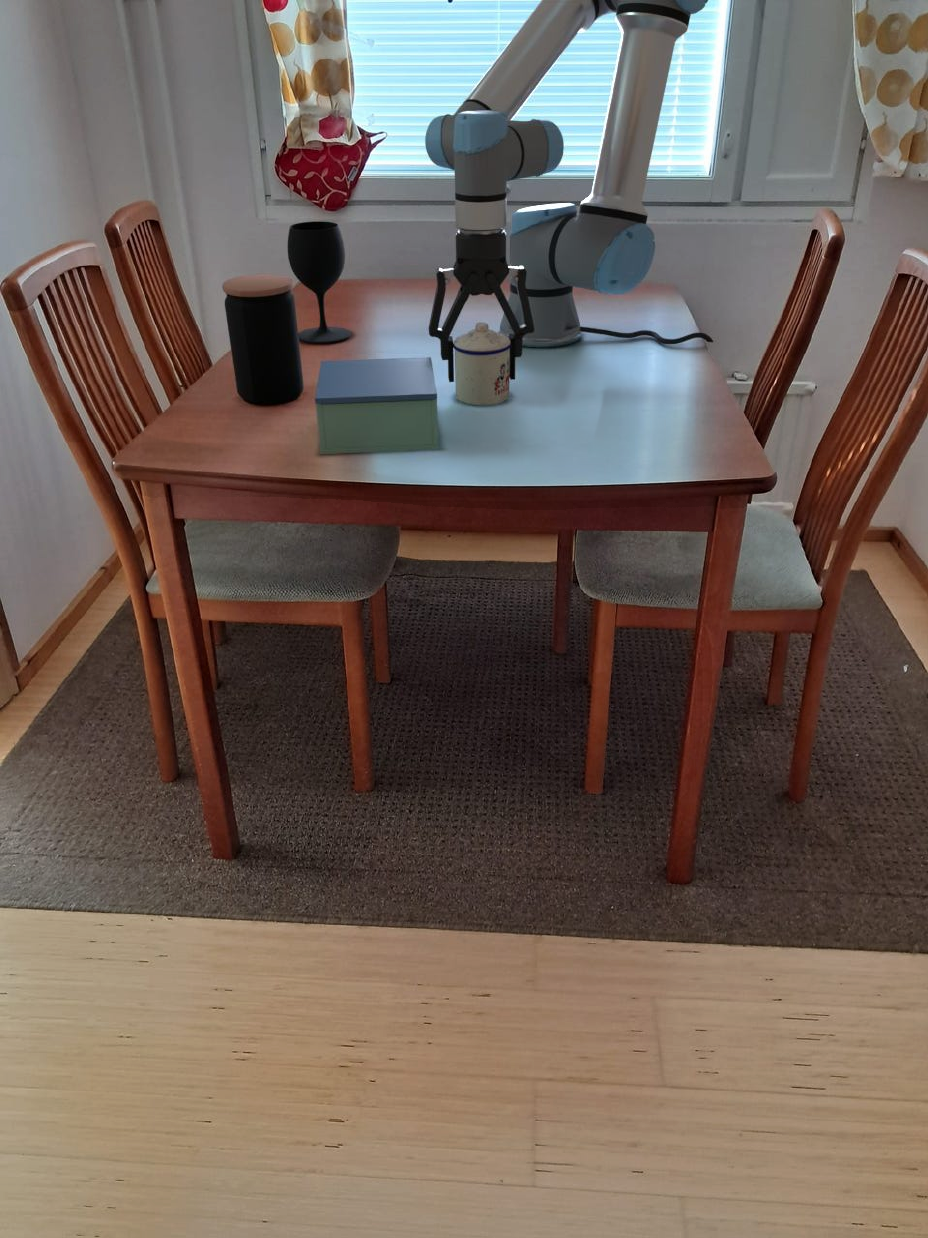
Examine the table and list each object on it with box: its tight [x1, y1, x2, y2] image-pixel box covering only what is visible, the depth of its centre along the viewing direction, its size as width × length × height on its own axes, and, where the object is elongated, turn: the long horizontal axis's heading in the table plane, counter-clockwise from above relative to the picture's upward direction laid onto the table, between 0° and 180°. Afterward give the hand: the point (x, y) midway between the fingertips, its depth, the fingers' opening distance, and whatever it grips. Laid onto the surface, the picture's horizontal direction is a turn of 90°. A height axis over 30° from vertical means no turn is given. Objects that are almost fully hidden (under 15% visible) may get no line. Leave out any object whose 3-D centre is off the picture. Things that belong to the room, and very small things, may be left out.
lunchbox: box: [315, 398, 439, 455], centre depth 141 cm, size 17×17×7 cm
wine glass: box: [287, 220, 352, 345], centre depth 178 cm, size 10×10×20 cm
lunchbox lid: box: [314, 356, 438, 405], centre depth 138 cm, size 17×17×1 cm
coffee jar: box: [221, 273, 305, 407], centre depth 151 cm, size 11×11×18 cm
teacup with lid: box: [453, 322, 511, 406], centre depth 152 cm, size 12×9×12 cm
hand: (481, 377), depth 154 cm, fingers closed on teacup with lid, 9 cm apart
